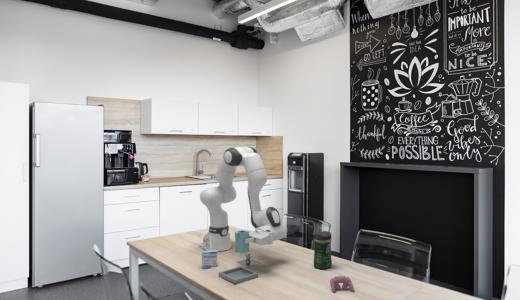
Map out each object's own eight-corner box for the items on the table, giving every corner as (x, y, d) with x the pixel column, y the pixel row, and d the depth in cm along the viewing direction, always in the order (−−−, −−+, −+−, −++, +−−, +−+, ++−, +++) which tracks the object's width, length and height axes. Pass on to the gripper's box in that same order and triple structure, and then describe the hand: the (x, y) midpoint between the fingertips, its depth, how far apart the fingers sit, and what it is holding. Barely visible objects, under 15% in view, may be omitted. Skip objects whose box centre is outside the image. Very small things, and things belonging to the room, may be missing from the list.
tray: (218, 276, 178) (218, 272, 178) (241, 269, 186) (241, 266, 186) (235, 284, 167) (235, 280, 167) (258, 277, 176) (258, 273, 176)
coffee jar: (324, 271, 183) (323, 234, 183) (311, 267, 189) (310, 232, 188) (334, 266, 190) (334, 231, 190) (321, 263, 196) (321, 229, 195)
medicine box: (202, 269, 188) (202, 252, 188) (201, 266, 193) (201, 250, 193) (217, 267, 191) (217, 251, 190) (216, 264, 195) (216, 249, 195)
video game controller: (352, 292, 160) (349, 276, 163) (355, 291, 156) (352, 274, 159) (330, 293, 159) (328, 276, 162) (332, 292, 155) (330, 275, 158)
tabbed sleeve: (233, 252, 180) (232, 232, 180) (243, 249, 184) (242, 230, 184) (239, 254, 176) (238, 233, 176) (249, 251, 180) (248, 231, 180)
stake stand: (235, 263, 197) (235, 253, 197) (249, 259, 204) (249, 250, 204) (246, 267, 190) (246, 258, 190) (261, 263, 196) (260, 254, 196)
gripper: (249, 226, 197) (228, 230, 188) (274, 232, 181) (253, 237, 172) (249, 237, 197) (229, 242, 188) (274, 244, 181) (253, 250, 172)
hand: (240, 239), depth 180 cm, fingers closed on tabbed sleeve, 5 cm apart
